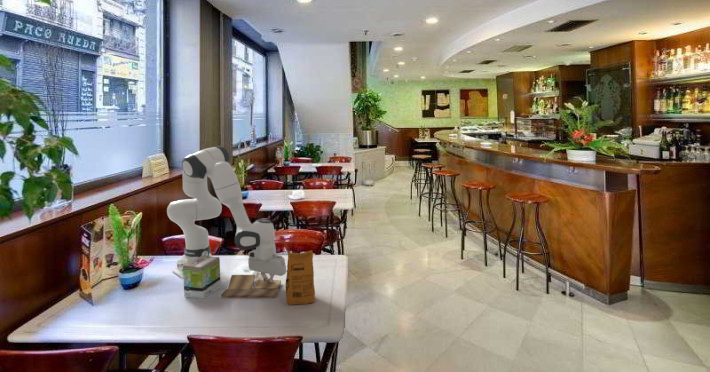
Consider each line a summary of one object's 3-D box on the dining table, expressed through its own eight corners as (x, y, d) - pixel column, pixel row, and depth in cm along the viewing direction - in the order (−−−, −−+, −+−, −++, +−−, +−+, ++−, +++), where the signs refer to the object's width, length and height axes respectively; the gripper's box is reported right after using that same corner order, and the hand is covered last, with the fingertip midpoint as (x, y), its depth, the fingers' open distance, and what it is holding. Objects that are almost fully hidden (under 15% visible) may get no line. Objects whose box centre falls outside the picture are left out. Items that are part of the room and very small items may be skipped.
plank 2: (253, 290, 194) (253, 288, 193) (258, 282, 201) (258, 280, 201) (277, 290, 193) (277, 288, 193) (281, 282, 201) (280, 280, 201)
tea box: (204, 299, 185) (202, 267, 183) (183, 297, 187) (181, 265, 185) (221, 286, 199) (219, 256, 197) (202, 284, 201) (200, 255, 199)
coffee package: (285, 297, 186) (284, 249, 183) (313, 294, 189) (312, 247, 185) (286, 306, 177) (284, 256, 173) (315, 304, 179) (314, 254, 175)
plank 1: (228, 290, 194) (227, 288, 193) (232, 276, 200) (231, 274, 199) (251, 290, 194) (251, 289, 193) (255, 276, 200) (254, 274, 199)
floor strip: (221, 297, 186) (220, 295, 186) (226, 291, 193) (226, 288, 193) (274, 297, 185) (274, 295, 185) (278, 291, 192) (278, 289, 192)
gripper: (288, 254, 195) (289, 282, 197) (254, 248, 205) (256, 276, 207) (279, 258, 189) (281, 287, 192) (245, 252, 199) (247, 280, 201)
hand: (268, 281), depth 199 cm, fingers closed
